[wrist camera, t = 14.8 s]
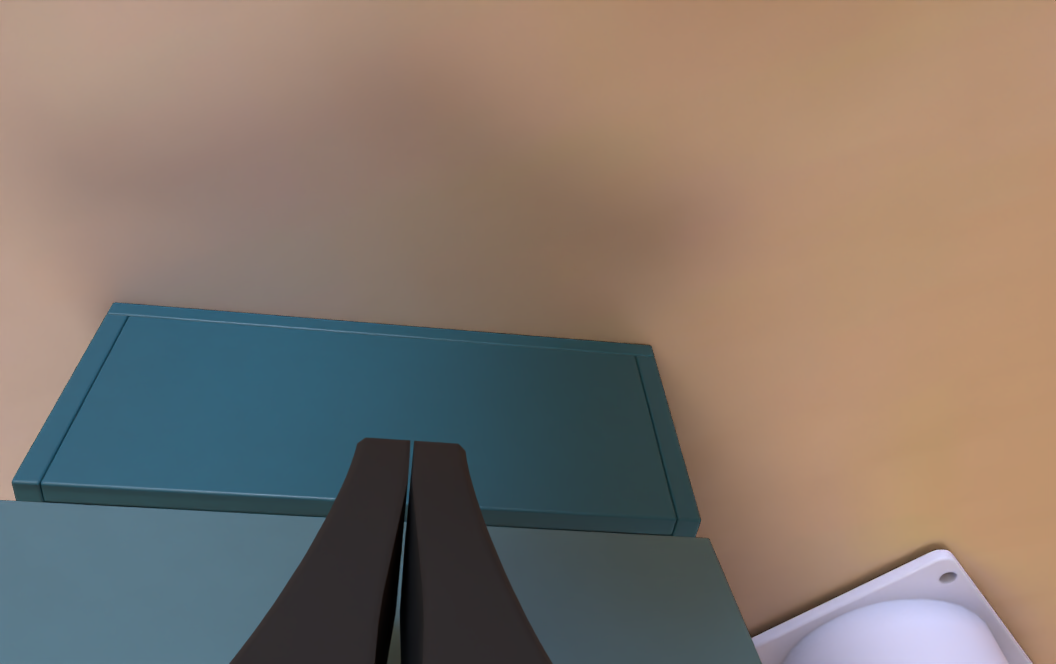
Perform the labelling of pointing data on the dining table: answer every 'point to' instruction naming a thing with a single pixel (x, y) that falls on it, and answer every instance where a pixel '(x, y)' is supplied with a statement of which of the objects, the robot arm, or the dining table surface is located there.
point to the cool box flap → (273, 556)
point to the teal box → (359, 419)
